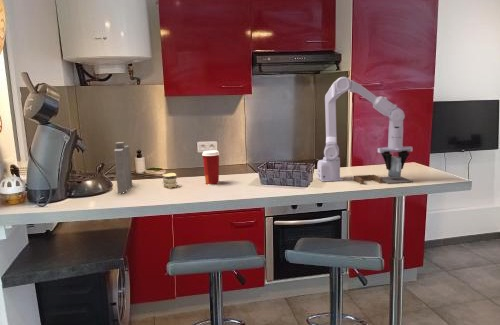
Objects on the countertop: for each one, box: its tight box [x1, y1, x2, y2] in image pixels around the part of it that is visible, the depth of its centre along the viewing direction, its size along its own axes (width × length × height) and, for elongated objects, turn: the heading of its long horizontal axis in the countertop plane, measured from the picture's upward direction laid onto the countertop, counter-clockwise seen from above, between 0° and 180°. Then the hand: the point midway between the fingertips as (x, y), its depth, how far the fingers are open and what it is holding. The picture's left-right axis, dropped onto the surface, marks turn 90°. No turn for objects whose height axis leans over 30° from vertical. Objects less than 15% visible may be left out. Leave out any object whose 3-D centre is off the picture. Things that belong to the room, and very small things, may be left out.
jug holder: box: [353, 174, 383, 185], centre depth 171 cm, size 9×8×2 cm
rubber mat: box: [379, 176, 414, 185], centre depth 172 cm, size 11×11×1 cm
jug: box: [387, 155, 402, 177], centre depth 170 cm, size 5×7×8 cm
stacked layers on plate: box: [161, 172, 178, 189], centre depth 173 cm, size 10×9×6 cm
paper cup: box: [201, 150, 220, 185], centre depth 177 cm, size 8×8×14 cm
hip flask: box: [113, 141, 133, 194], centre depth 170 cm, size 16×4×20 cm, turn 5°
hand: (394, 169), depth 172 cm, fingers closed on jug, 5 cm apart
